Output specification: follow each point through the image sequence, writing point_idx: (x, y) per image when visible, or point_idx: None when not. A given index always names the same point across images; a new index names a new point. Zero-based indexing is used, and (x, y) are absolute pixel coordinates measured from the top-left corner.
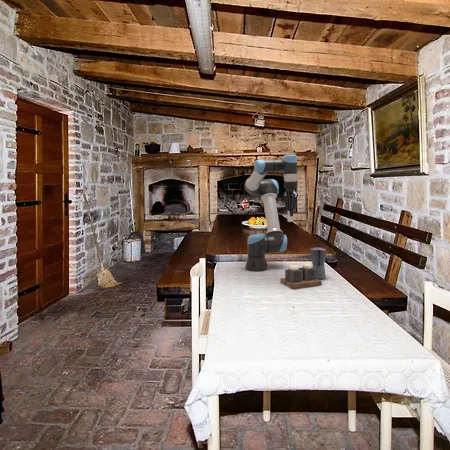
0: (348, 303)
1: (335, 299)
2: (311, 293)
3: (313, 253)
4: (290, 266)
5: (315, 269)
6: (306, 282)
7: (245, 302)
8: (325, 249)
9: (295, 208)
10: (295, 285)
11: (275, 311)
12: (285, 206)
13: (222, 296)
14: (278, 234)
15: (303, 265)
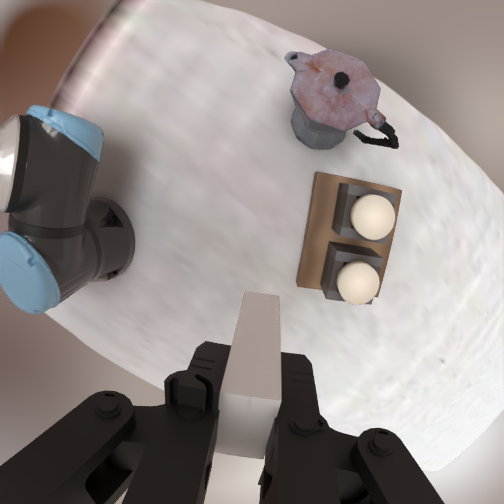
0: (500, 251)
1: (477, 254)
2: (424, 272)
3: (341, 132)
4: (358, 302)
5: (395, 199)
6: (385, 244)
7: (360, 419)
8: (365, 68)
9: (405, 447)
10: (379, 289)
11: (429, 395)
12: (98, 481)
13: None
14: (37, 165)
15: (370, 238)
